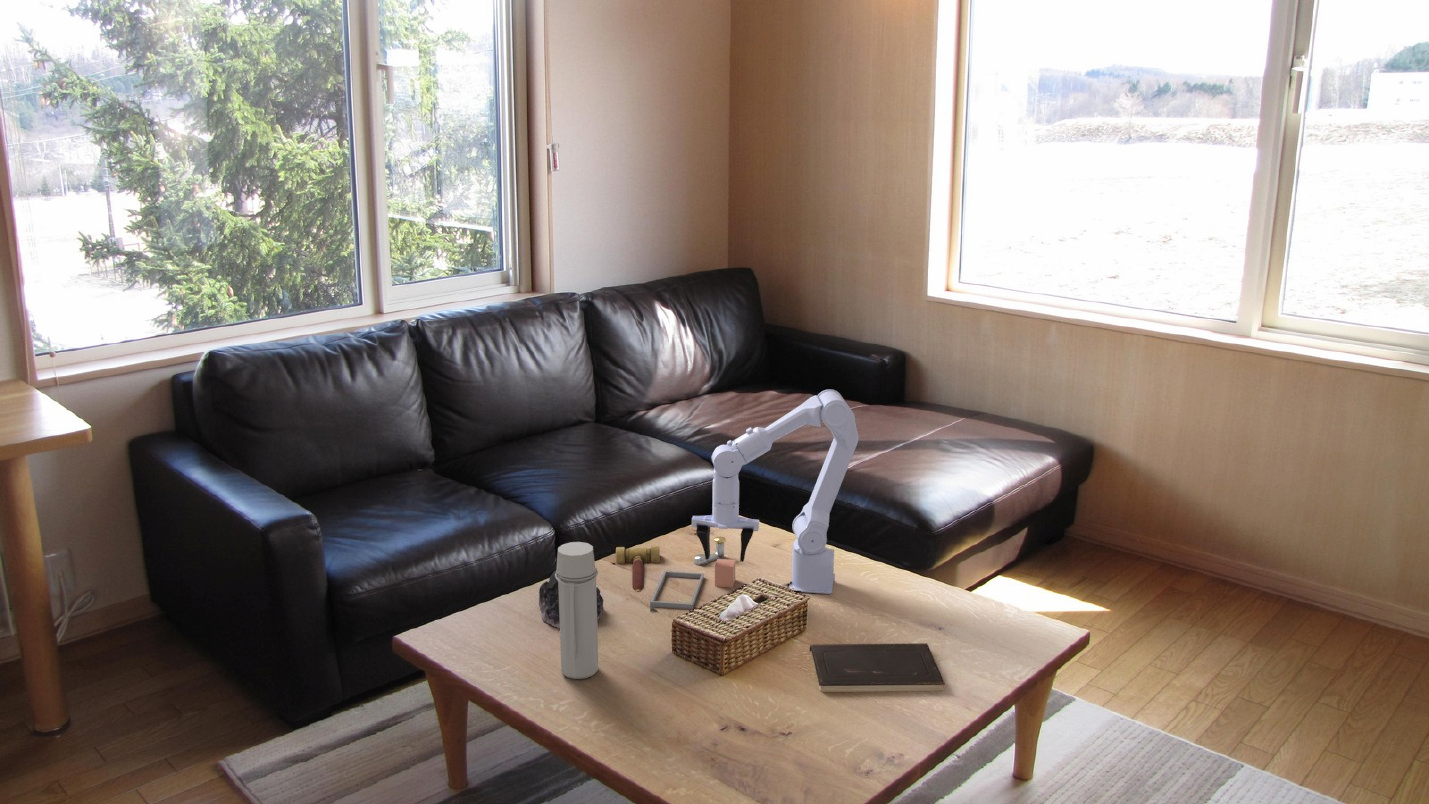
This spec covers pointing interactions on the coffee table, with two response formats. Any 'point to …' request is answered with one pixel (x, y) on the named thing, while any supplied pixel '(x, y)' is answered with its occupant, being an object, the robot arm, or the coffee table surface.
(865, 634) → the coffee table surface
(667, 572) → the rectangular frame
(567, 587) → the water bottle
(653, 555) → the gavel
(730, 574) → the block
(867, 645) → the hardcover book
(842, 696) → the coffee table surface
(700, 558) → the crank
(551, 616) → the crystal cluster
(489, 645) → the coffee table surface
